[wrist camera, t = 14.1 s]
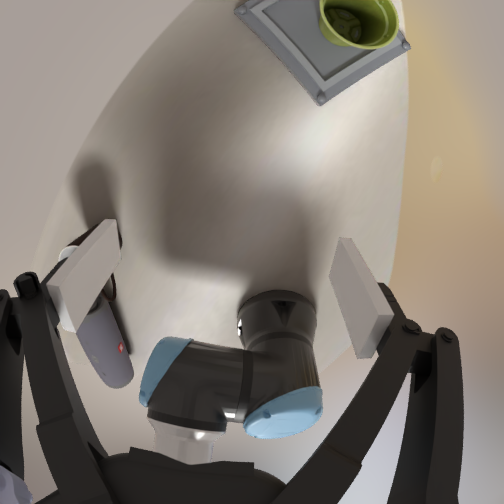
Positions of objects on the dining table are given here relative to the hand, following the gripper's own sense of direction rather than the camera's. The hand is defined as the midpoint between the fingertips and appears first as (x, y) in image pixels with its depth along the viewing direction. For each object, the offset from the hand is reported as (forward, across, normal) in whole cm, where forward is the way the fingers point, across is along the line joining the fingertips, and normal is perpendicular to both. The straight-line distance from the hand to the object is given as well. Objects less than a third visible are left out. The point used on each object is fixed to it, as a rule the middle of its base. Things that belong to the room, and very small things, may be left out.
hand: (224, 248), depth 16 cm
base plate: (+27, -10, -21) cm, 36 cm away
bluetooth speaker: (+27, +26, +38) cm, 53 cm away
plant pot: (+25, -11, -21) cm, 35 cm away
